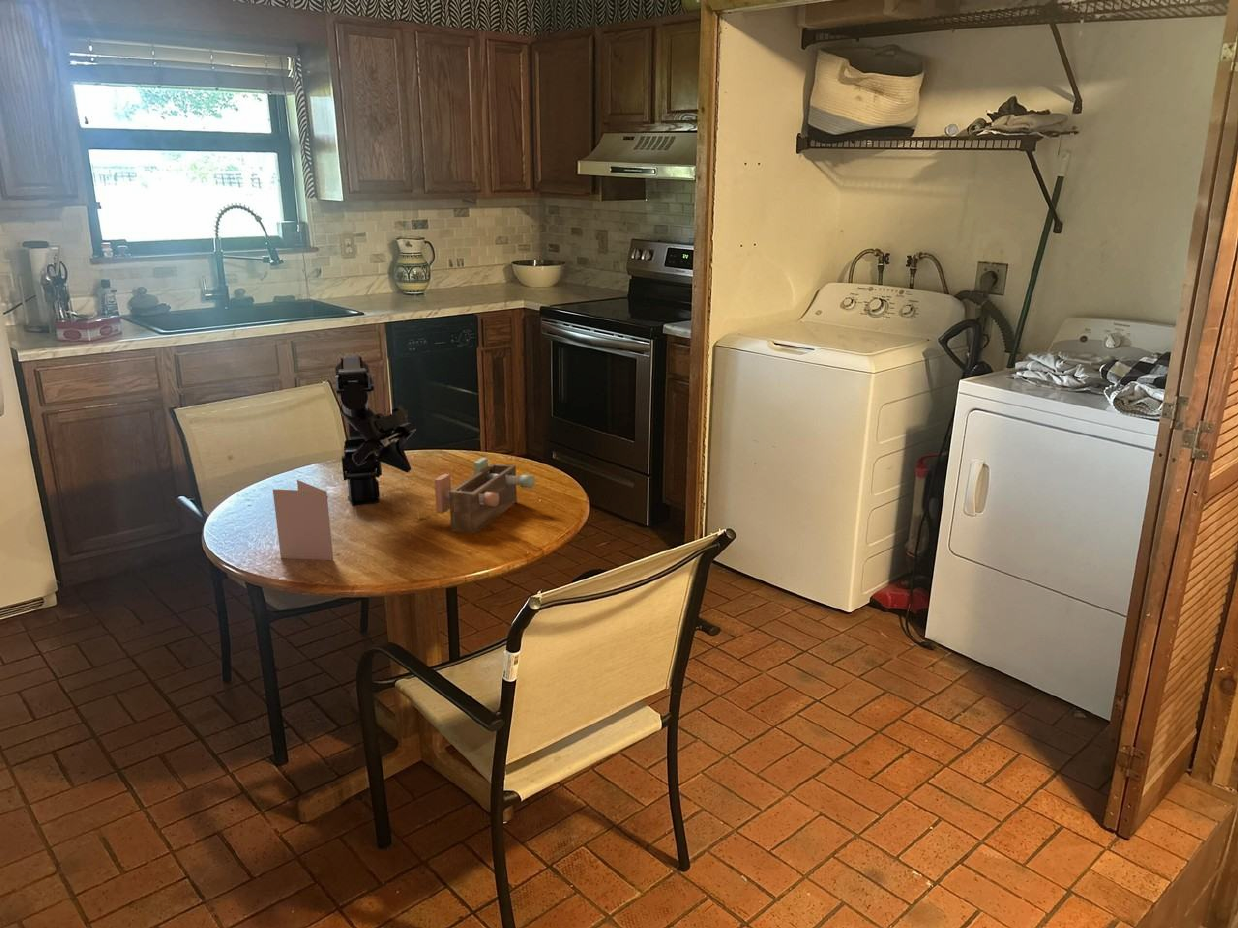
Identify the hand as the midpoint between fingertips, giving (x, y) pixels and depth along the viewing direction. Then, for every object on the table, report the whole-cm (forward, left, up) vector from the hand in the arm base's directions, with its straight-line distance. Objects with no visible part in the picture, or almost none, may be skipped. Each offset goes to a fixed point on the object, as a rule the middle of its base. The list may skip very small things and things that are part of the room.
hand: (409, 470), depth 209 cm
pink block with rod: (+10, -10, -9) cm, 17 cm away
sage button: (+22, -2, -9) cm, 24 cm away
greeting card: (-26, -12, -12) cm, 31 cm away
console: (+16, -6, -12) cm, 20 cm away
